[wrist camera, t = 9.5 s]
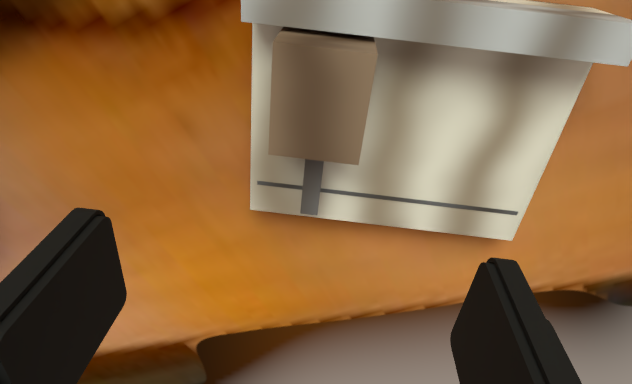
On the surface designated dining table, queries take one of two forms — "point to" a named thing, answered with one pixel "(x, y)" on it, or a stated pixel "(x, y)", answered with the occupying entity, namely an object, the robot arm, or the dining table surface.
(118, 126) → the dining table surface
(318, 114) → the block
